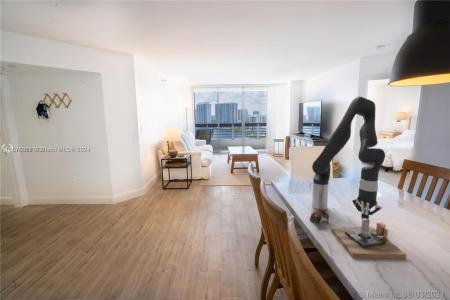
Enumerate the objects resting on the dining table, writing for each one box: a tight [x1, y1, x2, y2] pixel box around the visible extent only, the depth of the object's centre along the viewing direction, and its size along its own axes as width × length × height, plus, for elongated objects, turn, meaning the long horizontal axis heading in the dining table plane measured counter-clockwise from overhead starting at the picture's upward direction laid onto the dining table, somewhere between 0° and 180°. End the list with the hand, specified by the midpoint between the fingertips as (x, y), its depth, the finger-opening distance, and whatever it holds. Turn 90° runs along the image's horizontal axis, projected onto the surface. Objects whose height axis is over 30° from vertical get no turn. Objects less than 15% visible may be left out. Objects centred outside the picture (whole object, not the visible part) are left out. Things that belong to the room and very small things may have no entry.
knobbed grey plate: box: [345, 222, 387, 247], centre depth 100 cm, size 16×12×7 cm
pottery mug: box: [309, 209, 330, 224], centre depth 121 cm, size 12×10×8 cm
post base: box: [330, 218, 407, 260], centre depth 100 cm, size 22×22×12 cm
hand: (364, 220), depth 106 cm, fingers closed
